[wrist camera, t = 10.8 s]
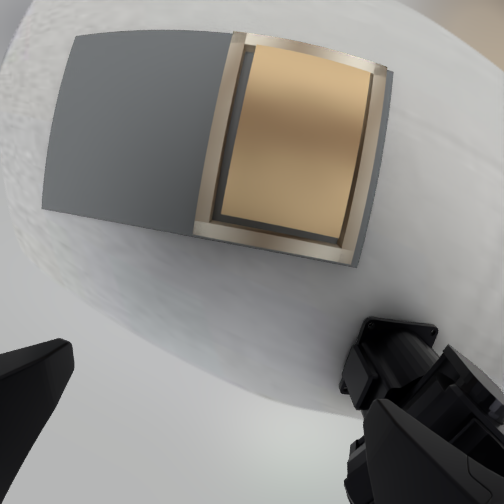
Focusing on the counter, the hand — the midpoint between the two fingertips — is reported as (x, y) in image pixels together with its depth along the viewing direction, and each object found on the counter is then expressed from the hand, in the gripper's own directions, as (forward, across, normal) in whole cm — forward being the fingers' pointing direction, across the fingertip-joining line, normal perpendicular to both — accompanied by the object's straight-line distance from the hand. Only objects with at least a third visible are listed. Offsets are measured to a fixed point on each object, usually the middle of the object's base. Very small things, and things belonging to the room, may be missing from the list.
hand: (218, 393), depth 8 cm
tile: (+12, -2, -8) cm, 14 cm away
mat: (+12, +4, -8) cm, 15 cm away
